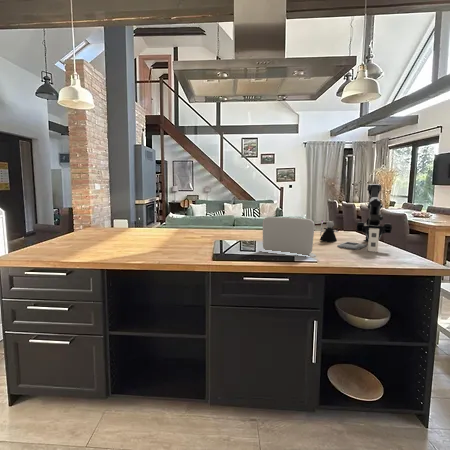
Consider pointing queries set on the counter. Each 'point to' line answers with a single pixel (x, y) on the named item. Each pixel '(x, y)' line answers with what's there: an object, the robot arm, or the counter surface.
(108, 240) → the counter surface
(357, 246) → the bracket plate
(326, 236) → the toy
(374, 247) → the cream rectangular prism
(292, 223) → the wireless router
